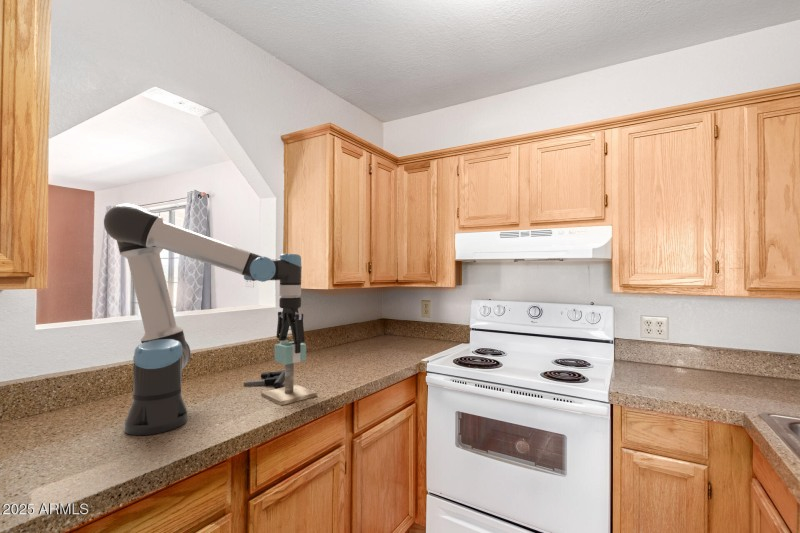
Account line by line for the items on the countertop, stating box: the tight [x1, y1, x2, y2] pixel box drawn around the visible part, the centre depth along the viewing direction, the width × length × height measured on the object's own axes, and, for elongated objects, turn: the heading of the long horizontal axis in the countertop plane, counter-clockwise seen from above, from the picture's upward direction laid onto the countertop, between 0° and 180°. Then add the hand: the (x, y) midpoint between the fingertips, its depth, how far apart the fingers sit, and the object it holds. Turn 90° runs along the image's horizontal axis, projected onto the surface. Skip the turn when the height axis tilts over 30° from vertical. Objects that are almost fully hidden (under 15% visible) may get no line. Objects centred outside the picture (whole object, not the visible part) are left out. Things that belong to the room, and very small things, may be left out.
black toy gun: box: [243, 369, 285, 389], centre depth 151 cm, size 3×20×16 cm
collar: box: [274, 341, 307, 366], centre depth 135 cm, size 8×8×6 cm
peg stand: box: [260, 363, 318, 406], centre depth 134 cm, size 14×14×13 cm
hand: (289, 360), depth 134 cm, fingers closed on collar, 8 cm apart
